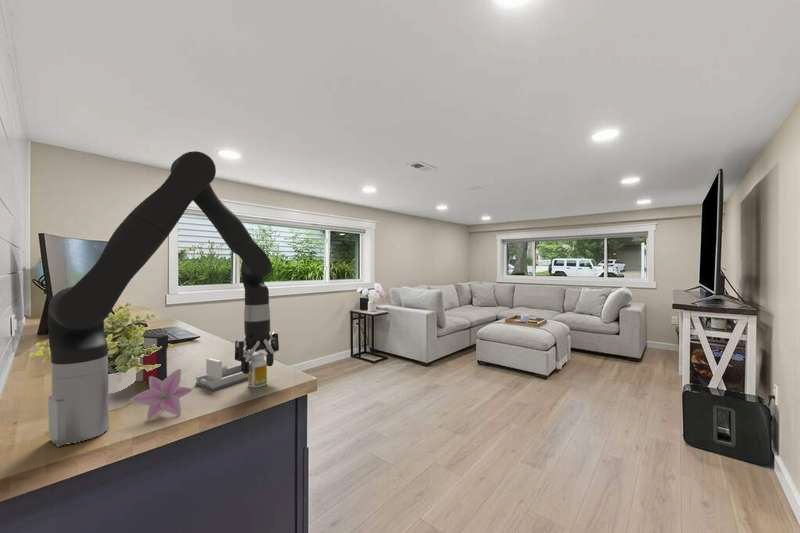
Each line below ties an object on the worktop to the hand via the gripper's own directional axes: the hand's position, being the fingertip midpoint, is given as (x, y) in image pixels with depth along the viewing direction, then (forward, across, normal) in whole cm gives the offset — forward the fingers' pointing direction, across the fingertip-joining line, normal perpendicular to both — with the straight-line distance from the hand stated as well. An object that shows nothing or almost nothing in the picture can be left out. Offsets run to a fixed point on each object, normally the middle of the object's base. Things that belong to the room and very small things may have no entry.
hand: (258, 369), depth 107 cm
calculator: (+5, -16, +33) cm, 37 cm away
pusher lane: (+5, -2, +12) cm, 13 cm away
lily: (+5, -25, +4) cm, 26 cm away
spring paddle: (+4, -6, +12) cm, 14 cm away
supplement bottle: (+5, 0, 0) cm, 5 cm away
